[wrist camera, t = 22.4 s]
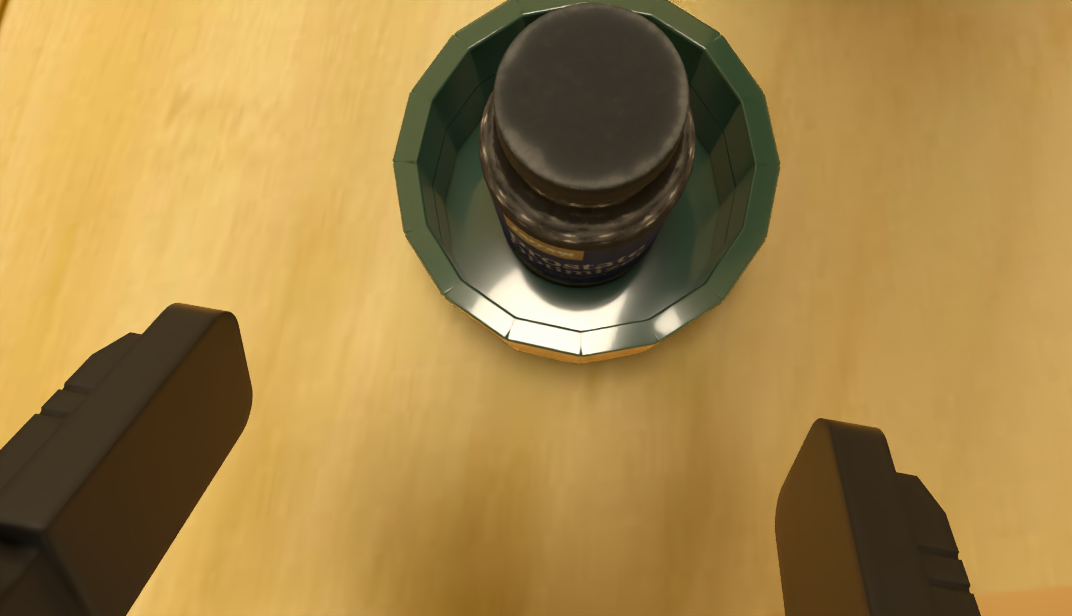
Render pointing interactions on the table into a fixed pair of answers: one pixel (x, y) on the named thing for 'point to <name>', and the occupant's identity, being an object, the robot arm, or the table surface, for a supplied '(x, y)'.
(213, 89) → the table surface
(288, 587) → the table surface
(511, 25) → the pot
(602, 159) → the pill bottle
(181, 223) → the table surface
